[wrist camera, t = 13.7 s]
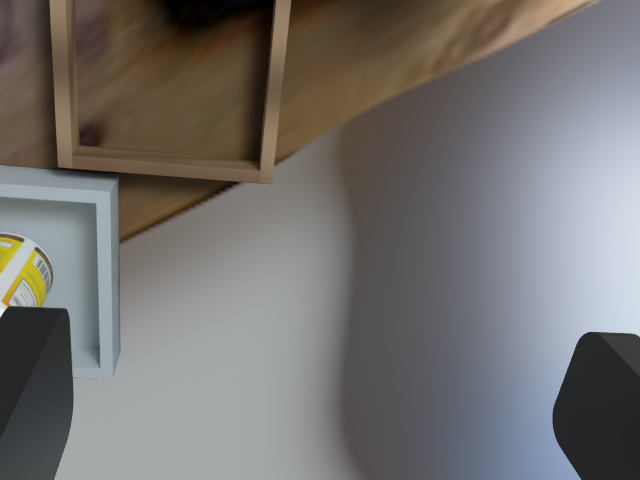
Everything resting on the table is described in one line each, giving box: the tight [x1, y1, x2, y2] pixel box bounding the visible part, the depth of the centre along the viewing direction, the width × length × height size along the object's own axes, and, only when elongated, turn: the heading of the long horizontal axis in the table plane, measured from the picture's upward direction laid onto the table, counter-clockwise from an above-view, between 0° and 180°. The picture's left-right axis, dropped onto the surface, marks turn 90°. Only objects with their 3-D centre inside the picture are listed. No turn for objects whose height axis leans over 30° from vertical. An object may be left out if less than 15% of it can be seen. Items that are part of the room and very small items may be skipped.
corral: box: [49, 0, 291, 184], centre depth 35 cm, size 13×13×2 cm
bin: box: [0, 165, 120, 378], centre depth 39 cm, size 14×14×3 cm
